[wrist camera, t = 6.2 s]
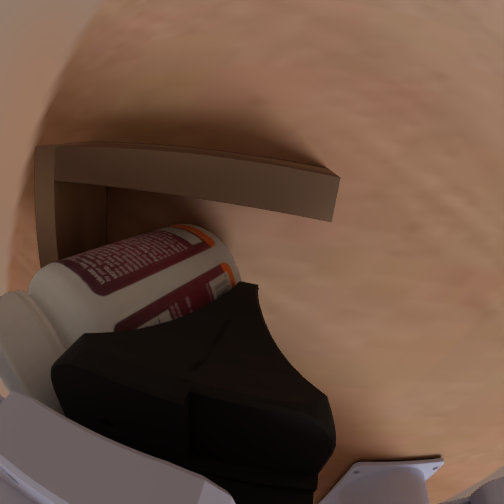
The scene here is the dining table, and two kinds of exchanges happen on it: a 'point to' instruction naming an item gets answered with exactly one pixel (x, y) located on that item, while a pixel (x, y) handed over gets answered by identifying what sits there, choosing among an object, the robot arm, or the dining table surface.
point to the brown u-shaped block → (161, 186)
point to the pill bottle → (107, 299)
